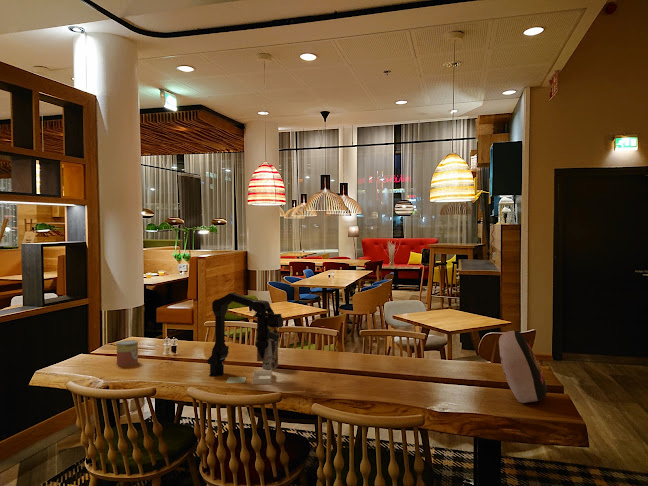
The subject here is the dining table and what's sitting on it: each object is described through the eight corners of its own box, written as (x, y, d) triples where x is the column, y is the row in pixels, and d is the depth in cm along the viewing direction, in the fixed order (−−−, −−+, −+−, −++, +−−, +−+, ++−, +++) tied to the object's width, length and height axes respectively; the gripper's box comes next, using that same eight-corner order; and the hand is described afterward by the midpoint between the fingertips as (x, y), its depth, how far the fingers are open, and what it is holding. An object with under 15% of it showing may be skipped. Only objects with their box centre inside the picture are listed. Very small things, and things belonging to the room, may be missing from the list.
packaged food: (549, 410, 193) (549, 338, 193) (498, 404, 200) (498, 334, 200) (545, 394, 213) (545, 328, 213) (499, 389, 220) (499, 325, 220)
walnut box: (257, 361, 233) (257, 348, 233) (257, 359, 237) (257, 346, 237) (268, 361, 233) (268, 348, 233) (268, 359, 237) (268, 346, 237)
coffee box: (273, 370, 253) (273, 340, 252) (262, 369, 254) (262, 340, 254) (278, 366, 261) (278, 337, 261) (267, 365, 263) (267, 336, 263)
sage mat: (226, 384, 228) (226, 382, 228) (228, 378, 237) (228, 377, 237) (244, 383, 229) (244, 382, 229) (246, 378, 238) (246, 377, 238)
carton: (252, 384, 227) (252, 376, 227) (254, 376, 242) (254, 368, 242) (271, 384, 228) (271, 376, 228) (271, 375, 243) (271, 367, 243)
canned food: (130, 366, 261) (130, 344, 261) (112, 365, 263) (112, 344, 263) (141, 361, 273) (141, 340, 273) (124, 360, 274) (124, 339, 274)
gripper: (278, 329, 226) (278, 361, 226) (278, 322, 245) (278, 352, 245) (255, 330, 225) (255, 362, 225) (257, 323, 244) (257, 353, 244)
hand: (262, 357), depth 235 cm, fingers closed on walnut box, 4 cm apart
